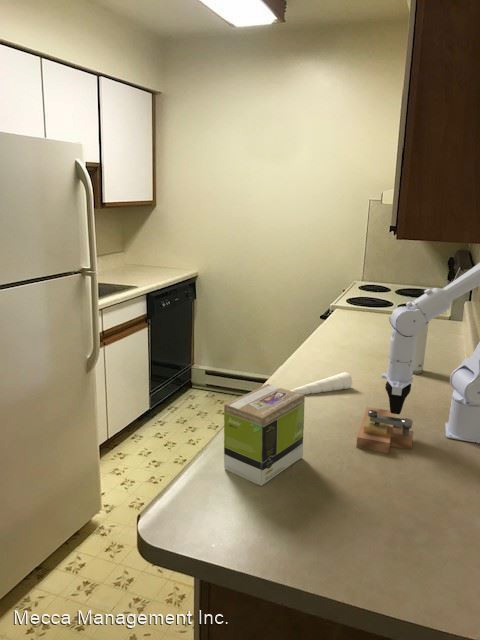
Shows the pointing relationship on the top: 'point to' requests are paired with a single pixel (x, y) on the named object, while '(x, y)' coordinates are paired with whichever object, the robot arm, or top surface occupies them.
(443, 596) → the top surface
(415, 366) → the travel mug
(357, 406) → the top surface
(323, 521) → the top surface
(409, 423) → the lever
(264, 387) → the tea box
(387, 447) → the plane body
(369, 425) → the wooden block with bolt
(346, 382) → the unicorn horn
